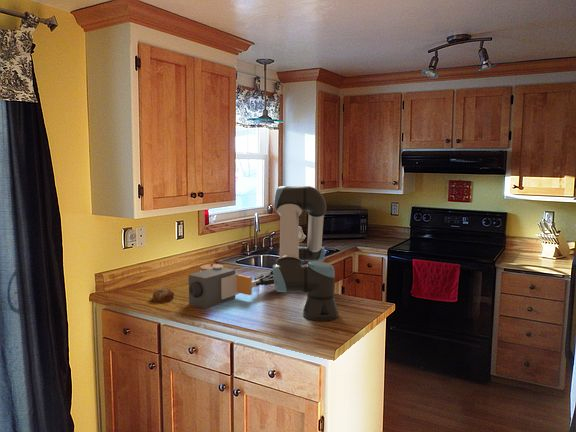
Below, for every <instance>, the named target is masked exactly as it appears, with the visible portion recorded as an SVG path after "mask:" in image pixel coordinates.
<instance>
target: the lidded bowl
mask: <svg viewBox="0 0 576 432" xmlns="http://www.w3.org/2000/svg"><path fill="white" fill-rule="evenodd" d="M216 266H219V267H222V268H225V267H224V265H223V264H218V263H213V262H210V263H207V264H203V265H201V266H199V270H200V271H199V272H201V271H204V270H208V269H212V268H213V267H216Z"/></svg>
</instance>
